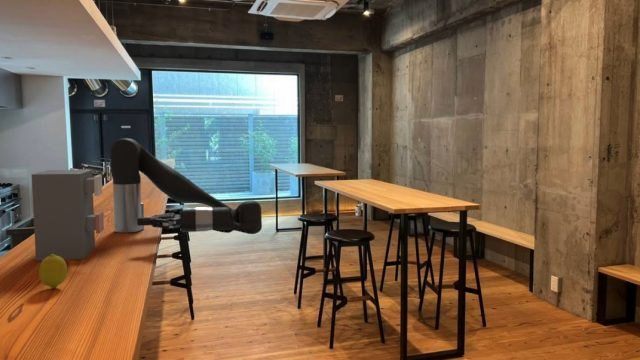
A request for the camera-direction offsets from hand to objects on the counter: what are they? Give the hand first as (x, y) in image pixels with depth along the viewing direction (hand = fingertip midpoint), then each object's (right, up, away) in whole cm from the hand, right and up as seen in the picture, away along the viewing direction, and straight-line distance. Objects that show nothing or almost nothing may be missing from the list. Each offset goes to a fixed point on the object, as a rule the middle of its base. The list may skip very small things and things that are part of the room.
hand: (137, 221), depth 139 cm
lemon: (-6, -12, -33) cm, 36 cm away
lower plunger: (-14, -3, -3) cm, 15 cm away
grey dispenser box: (-19, -9, -3) cm, 22 cm away
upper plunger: (-14, +8, -4) cm, 17 cm away
